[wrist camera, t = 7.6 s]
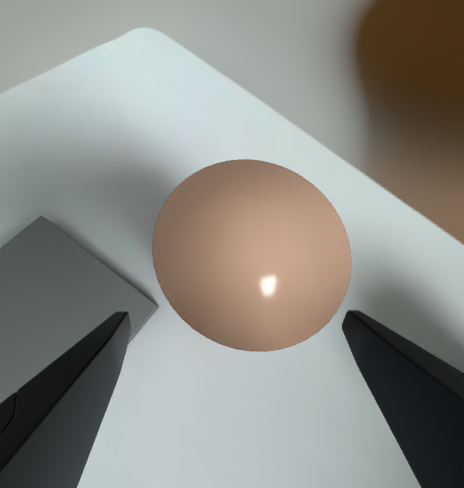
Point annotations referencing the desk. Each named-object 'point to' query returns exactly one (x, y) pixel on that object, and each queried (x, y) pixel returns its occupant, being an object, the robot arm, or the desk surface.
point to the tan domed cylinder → (251, 255)
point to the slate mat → (55, 301)
